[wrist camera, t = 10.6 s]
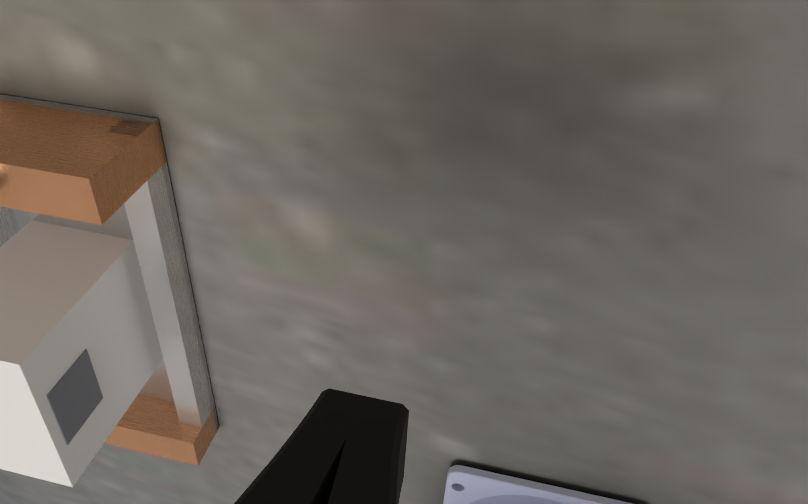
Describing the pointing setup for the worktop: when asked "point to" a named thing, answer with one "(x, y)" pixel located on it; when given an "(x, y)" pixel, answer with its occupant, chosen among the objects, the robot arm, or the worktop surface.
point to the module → (69, 346)
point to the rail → (126, 218)
